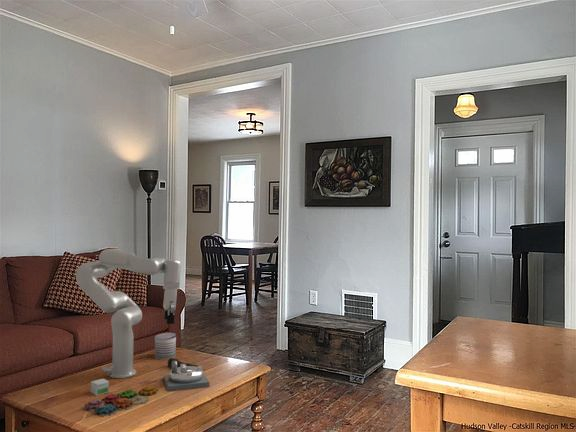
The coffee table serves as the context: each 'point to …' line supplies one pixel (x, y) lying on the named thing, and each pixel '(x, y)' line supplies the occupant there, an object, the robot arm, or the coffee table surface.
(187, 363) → the hand tool
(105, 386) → the small box
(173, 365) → the silver disc
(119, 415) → the coffee table surface
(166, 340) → the can
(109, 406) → the gear puzzle
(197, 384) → the gray plinth
